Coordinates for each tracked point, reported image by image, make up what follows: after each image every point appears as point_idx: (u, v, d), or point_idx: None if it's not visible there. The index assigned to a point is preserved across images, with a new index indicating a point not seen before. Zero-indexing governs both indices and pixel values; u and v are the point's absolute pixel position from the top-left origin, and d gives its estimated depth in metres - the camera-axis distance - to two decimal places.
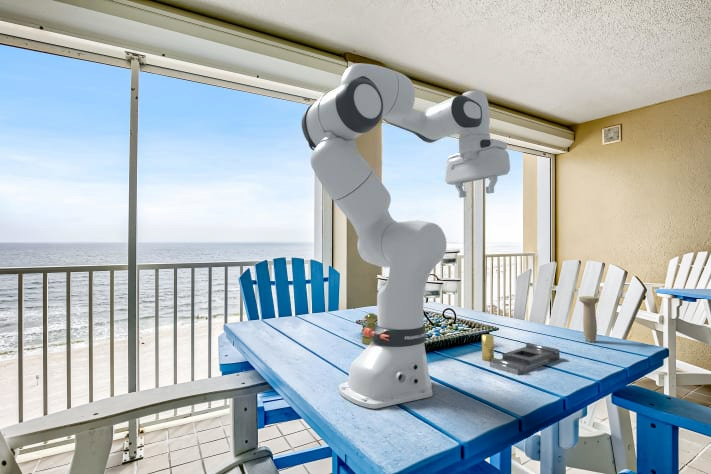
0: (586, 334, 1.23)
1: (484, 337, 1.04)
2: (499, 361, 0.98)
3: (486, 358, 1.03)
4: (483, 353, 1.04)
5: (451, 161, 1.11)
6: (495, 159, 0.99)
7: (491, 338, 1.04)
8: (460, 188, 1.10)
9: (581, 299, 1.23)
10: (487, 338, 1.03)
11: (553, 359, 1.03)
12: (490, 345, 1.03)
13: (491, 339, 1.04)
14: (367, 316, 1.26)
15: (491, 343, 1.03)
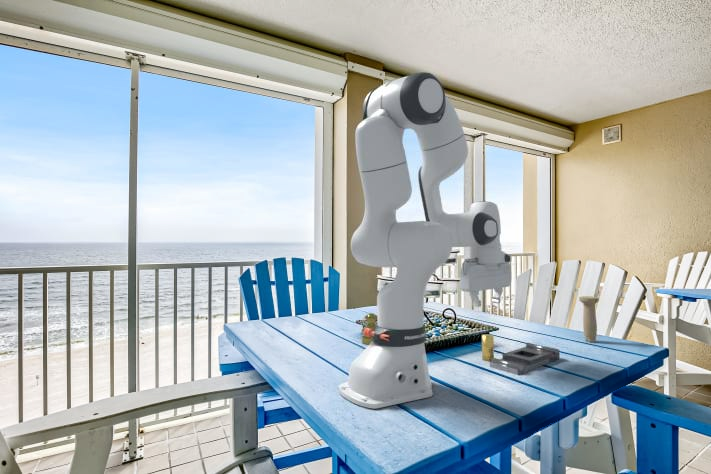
0: (586, 334, 1.23)
1: (484, 337, 1.04)
2: (499, 361, 0.98)
3: (486, 358, 1.03)
4: (483, 353, 1.04)
5: (475, 267, 1.00)
6: (507, 273, 1.09)
7: (491, 338, 1.04)
8: None
9: (581, 299, 1.23)
10: (487, 338, 1.03)
11: (553, 359, 1.03)
12: (490, 345, 1.03)
13: (491, 339, 1.04)
14: (367, 316, 1.26)
15: (491, 343, 1.03)
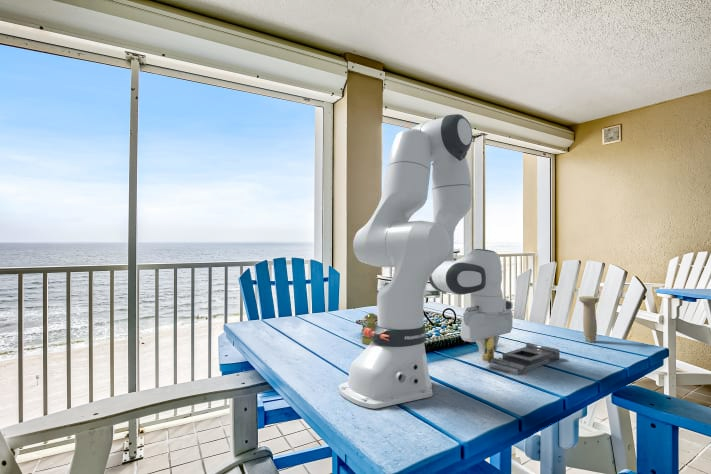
0: (586, 334, 1.23)
1: None
2: (499, 361, 0.98)
3: (486, 358, 1.03)
4: None
5: (476, 317, 1.00)
6: (508, 320, 1.08)
7: (491, 338, 1.04)
8: None
9: (581, 299, 1.23)
10: (487, 338, 1.03)
11: (553, 359, 1.03)
12: (490, 345, 1.03)
13: (491, 339, 1.03)
14: (367, 316, 1.26)
15: (491, 343, 1.03)
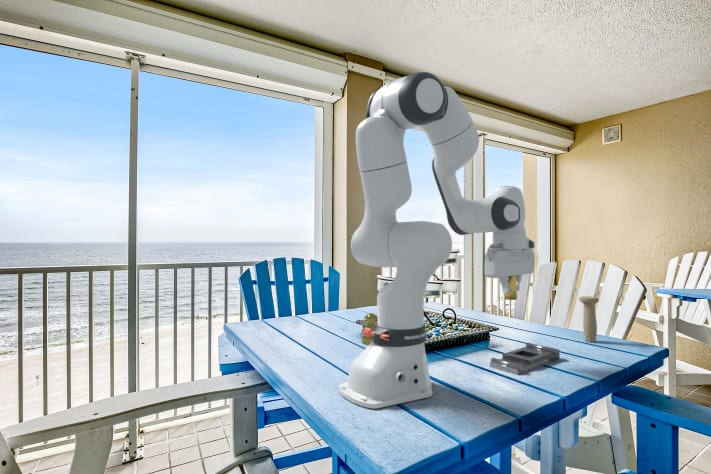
0: (586, 334, 1.23)
1: None
2: (499, 361, 0.98)
3: (509, 296, 1.02)
4: None
5: (500, 253, 0.98)
6: (530, 260, 1.07)
7: (514, 276, 1.02)
8: None
9: (581, 299, 1.23)
10: (510, 276, 1.02)
11: (553, 359, 1.03)
12: (513, 283, 1.02)
13: (514, 277, 1.02)
14: (367, 316, 1.26)
15: (514, 281, 1.02)
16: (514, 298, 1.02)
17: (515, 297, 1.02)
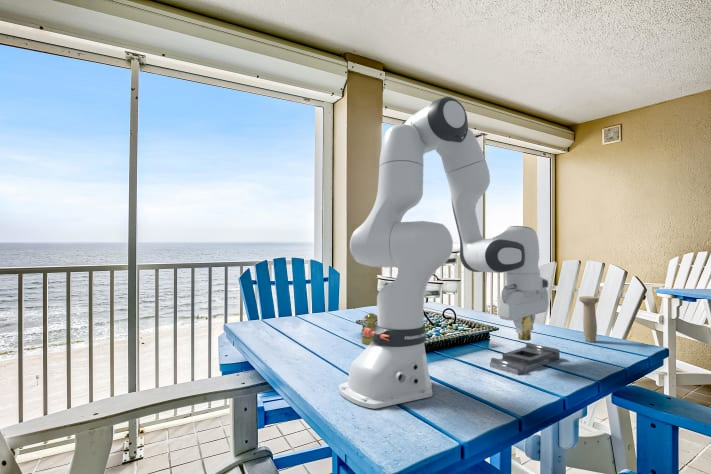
0: (586, 334, 1.23)
1: None
2: (499, 361, 0.98)
3: (523, 337, 1.01)
4: None
5: (515, 295, 0.97)
6: (543, 298, 1.06)
7: (528, 317, 1.01)
8: None
9: (581, 299, 1.23)
10: (524, 317, 1.01)
11: (553, 359, 1.03)
12: (527, 324, 1.01)
13: (528, 317, 1.01)
14: (367, 316, 1.26)
15: (528, 322, 1.01)
16: (528, 339, 1.01)
17: (529, 338, 1.01)
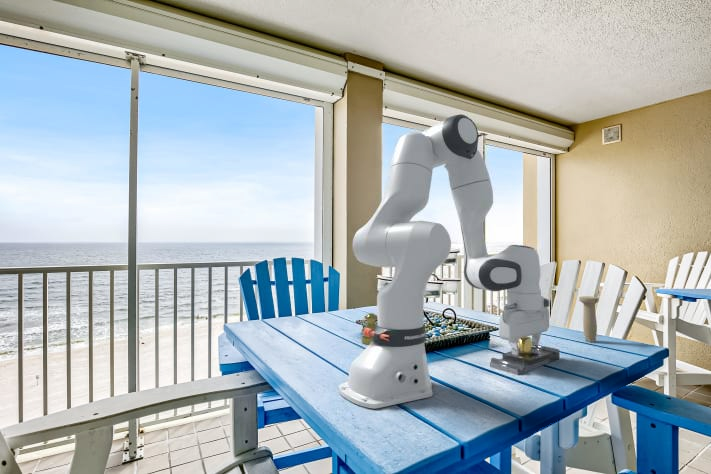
0: (586, 334, 1.23)
1: (521, 339, 1.01)
2: (499, 361, 0.98)
3: None
4: None
5: (515, 314, 0.97)
6: (545, 318, 1.05)
7: (529, 340, 1.01)
8: None
9: (581, 299, 1.23)
10: (525, 340, 1.01)
11: (553, 359, 1.03)
12: (528, 347, 1.00)
13: (529, 341, 1.01)
14: (367, 316, 1.26)
15: (529, 345, 1.00)
16: None
17: None
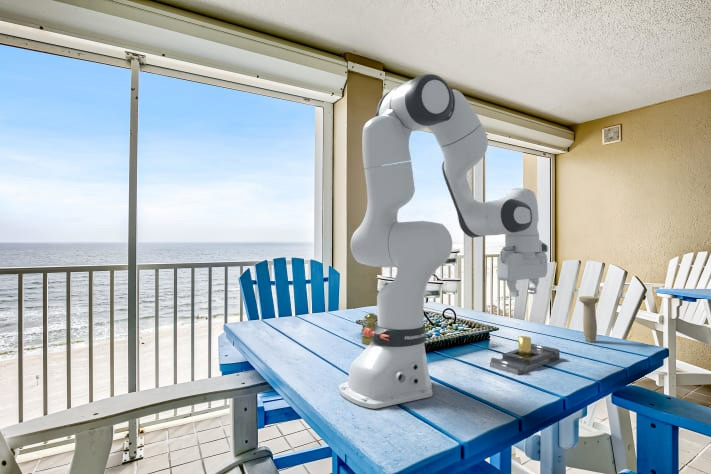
0: (586, 334, 1.23)
1: (521, 339, 1.01)
2: (499, 361, 0.98)
3: None
4: None
5: (514, 255, 0.97)
6: (543, 263, 1.06)
7: (529, 340, 1.01)
8: None
9: (581, 299, 1.23)
10: (525, 340, 1.01)
11: (553, 359, 1.03)
12: (528, 347, 1.00)
13: (529, 341, 1.01)
14: (367, 316, 1.26)
15: (529, 345, 1.00)
16: None
17: None
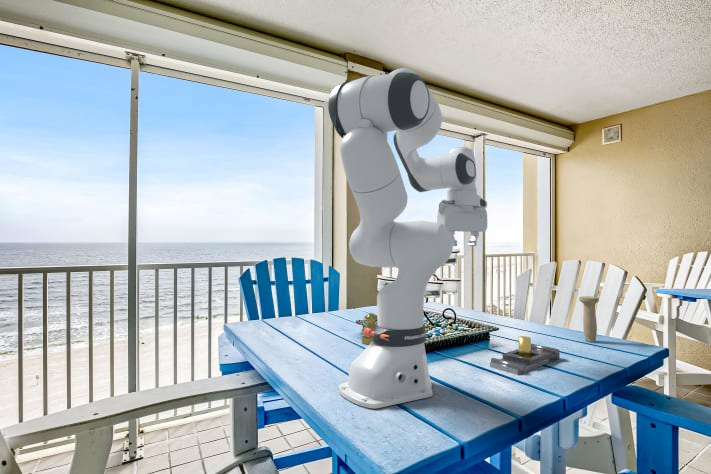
0: (586, 334, 1.23)
1: (521, 339, 1.01)
2: (499, 361, 0.98)
3: None
4: None
5: (451, 207, 1.06)
6: (483, 218, 1.14)
7: (529, 340, 1.01)
8: None
9: (581, 299, 1.23)
10: (525, 340, 1.01)
11: (553, 359, 1.03)
12: (528, 347, 1.00)
13: (529, 341, 1.01)
14: (367, 316, 1.26)
15: (529, 345, 1.00)
16: None
17: None
